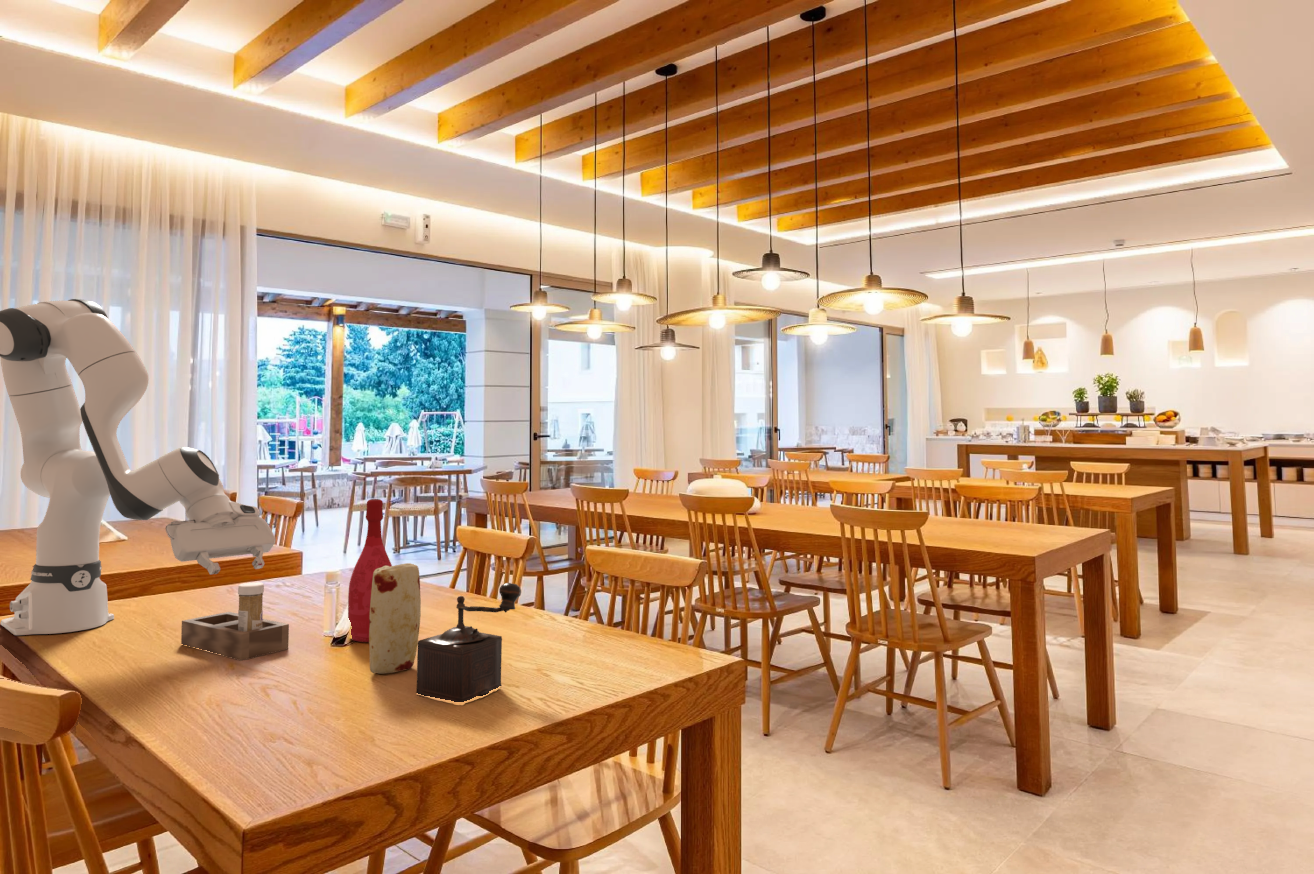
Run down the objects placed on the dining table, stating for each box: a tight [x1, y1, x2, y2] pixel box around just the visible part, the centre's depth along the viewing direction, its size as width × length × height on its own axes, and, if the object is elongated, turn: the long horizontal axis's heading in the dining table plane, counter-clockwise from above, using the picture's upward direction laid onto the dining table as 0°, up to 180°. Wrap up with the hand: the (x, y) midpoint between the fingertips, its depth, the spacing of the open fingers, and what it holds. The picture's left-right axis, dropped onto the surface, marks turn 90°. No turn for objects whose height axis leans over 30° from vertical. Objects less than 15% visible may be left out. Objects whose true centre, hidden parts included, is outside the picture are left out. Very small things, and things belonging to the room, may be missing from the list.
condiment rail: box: [180, 611, 290, 661], centre depth 157 cm, size 20×10×5 cm, turn 61°
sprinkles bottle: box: [237, 581, 265, 632], centre depth 155 cm, size 5×5×14 cm
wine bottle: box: [347, 498, 393, 643], centre depth 167 cm, size 10×10×30 cm
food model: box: [368, 562, 422, 675], centre depth 144 cm, size 10×7×20 cm
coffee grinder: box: [415, 582, 522, 702], centre depth 135 cm, size 16×11×18 cm
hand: (238, 569), depth 162 cm, fingers open, 8 cm apart
